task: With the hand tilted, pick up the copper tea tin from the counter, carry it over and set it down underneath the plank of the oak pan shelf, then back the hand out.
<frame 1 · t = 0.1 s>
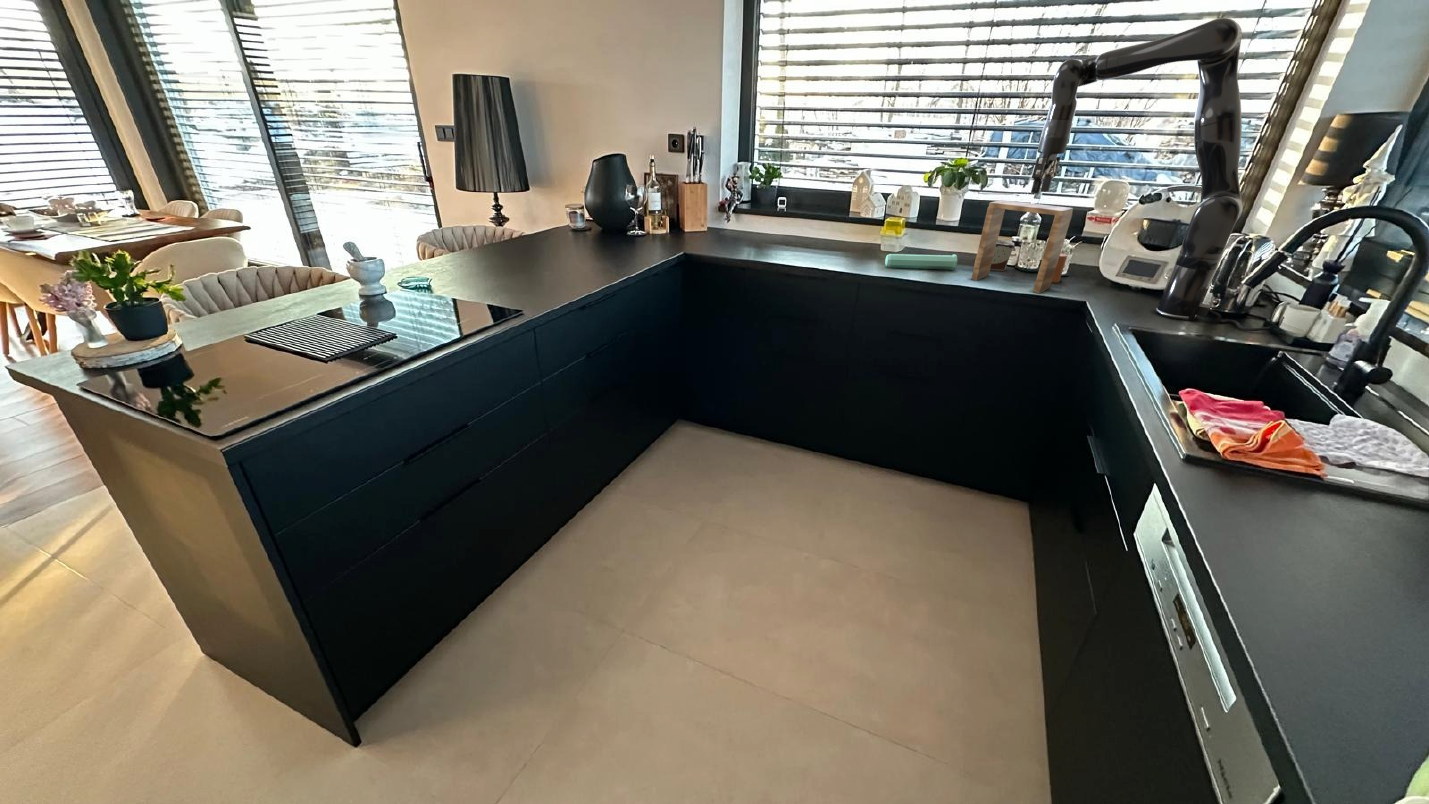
hand: (1039, 192, 177), 29 cm above the counter, tool pointing down, fingers open, 8 cm apart
tea tin: (1050, 280, 194), on the counter
container: (918, 268, 206), on the counter
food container: (988, 268, 209), on the counter
pan shelf: (1009, 283, 190), on the counter
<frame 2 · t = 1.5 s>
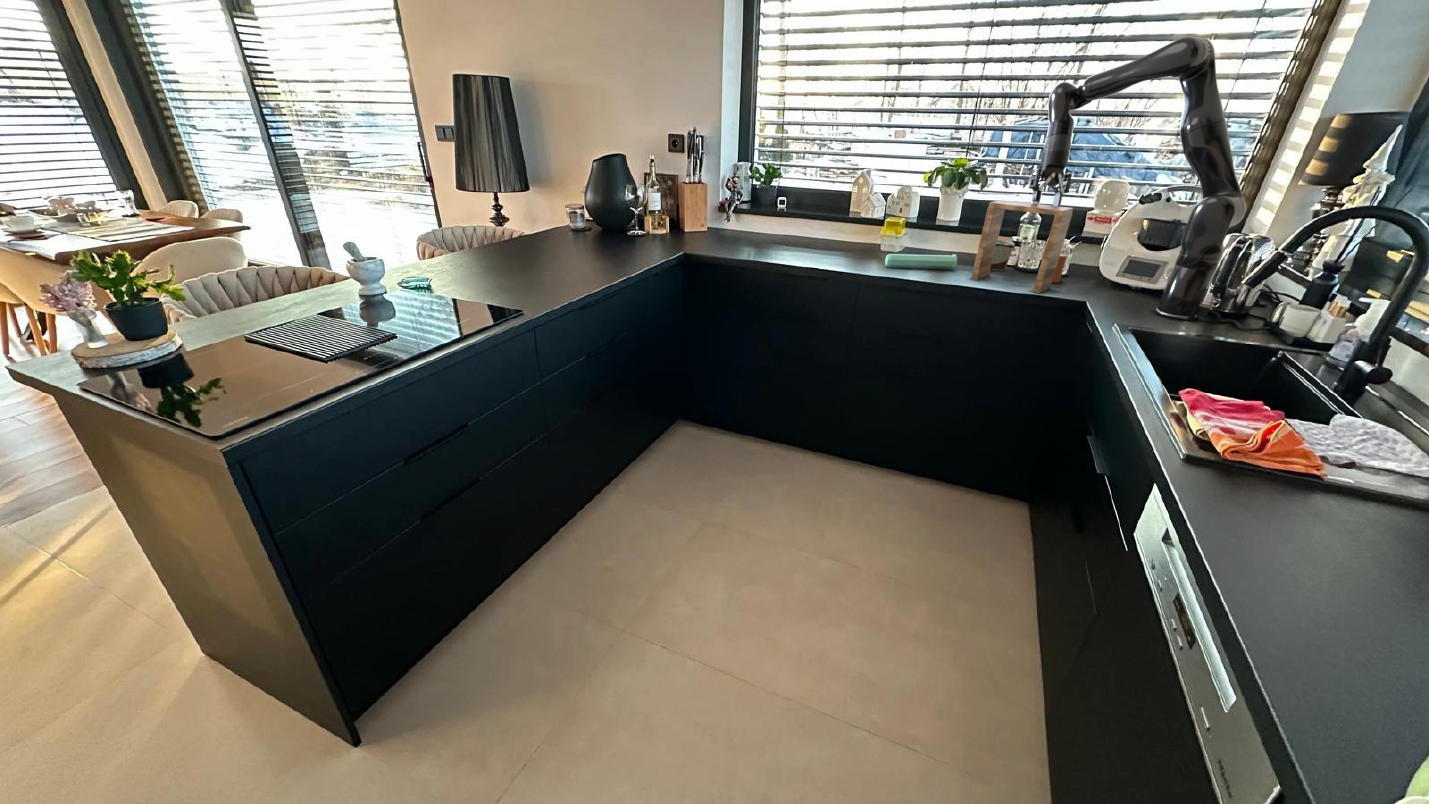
hand: (1045, 205, 182), 25 cm above the counter, tool tilted 15°, fingers open, 8 cm apart
nothing on the counter moved.
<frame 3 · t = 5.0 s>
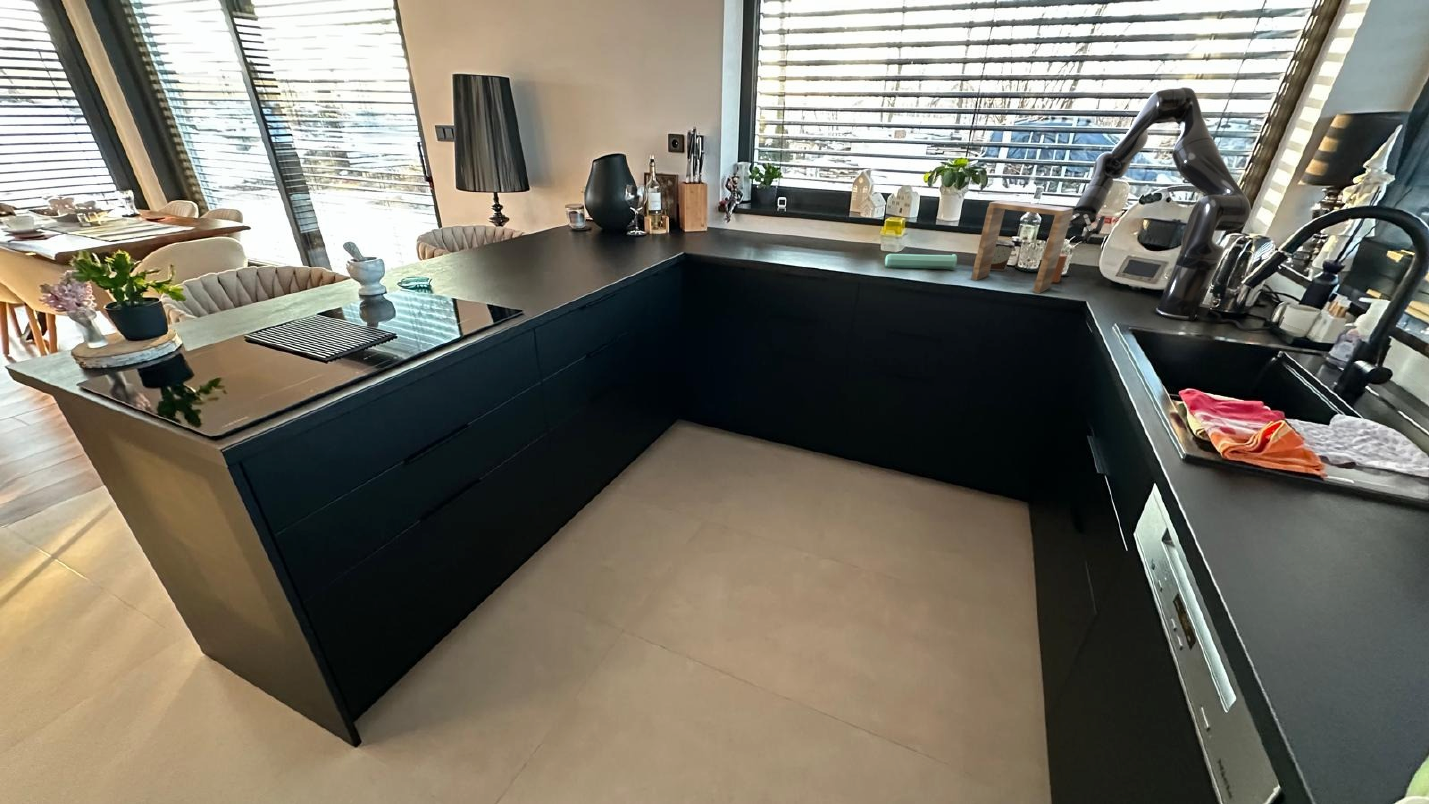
hand: (1069, 239, 193), 13 cm above the counter, tool tilted 45°, fingers open, 8 cm apart
nothing on the counter moved.
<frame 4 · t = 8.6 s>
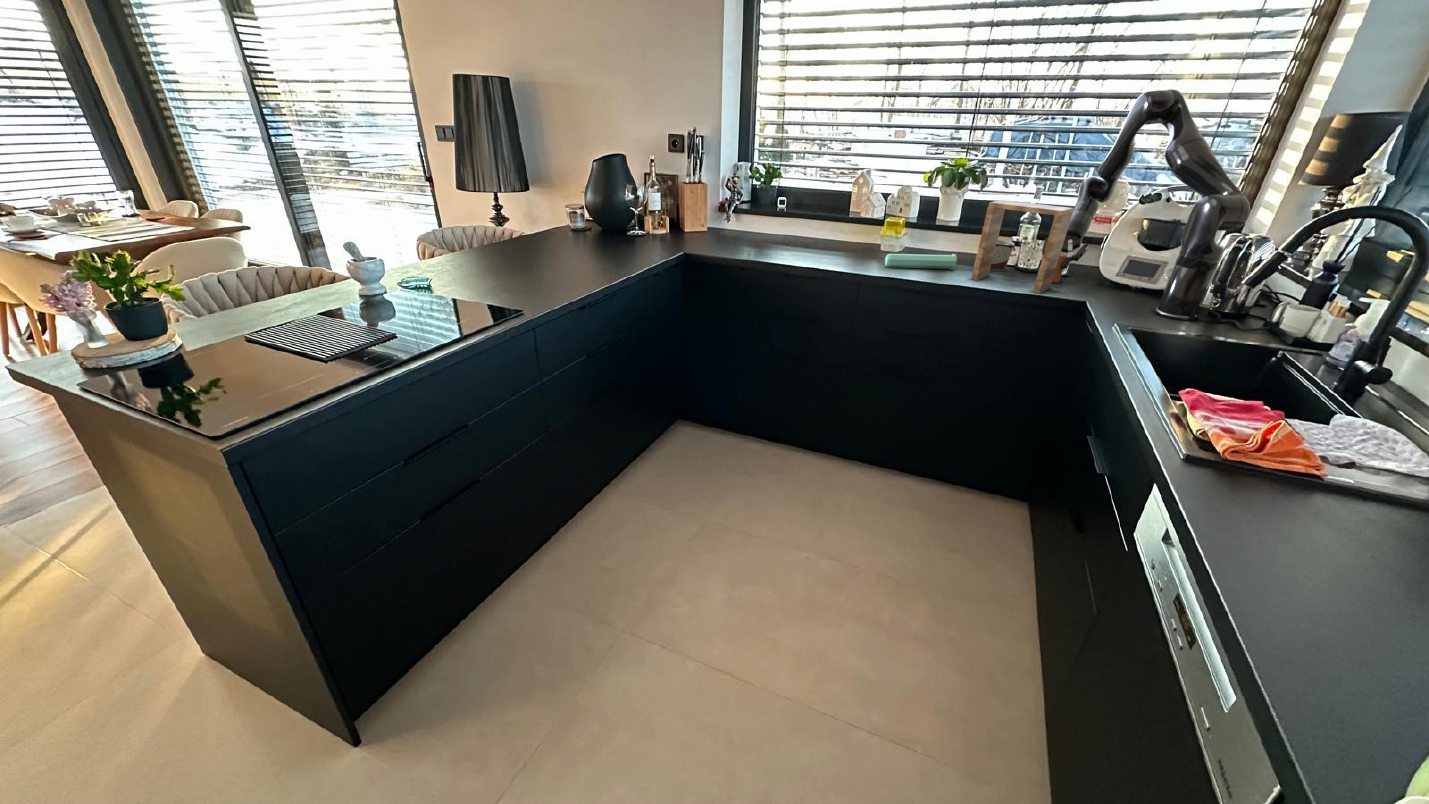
hand: (1053, 266, 191), 5 cm above the counter, tool tilted 45°, fingers closed on tea tin, 5 cm apart
tea tin: (1050, 280, 194), on the counter, touching gripper
everything else where it was.
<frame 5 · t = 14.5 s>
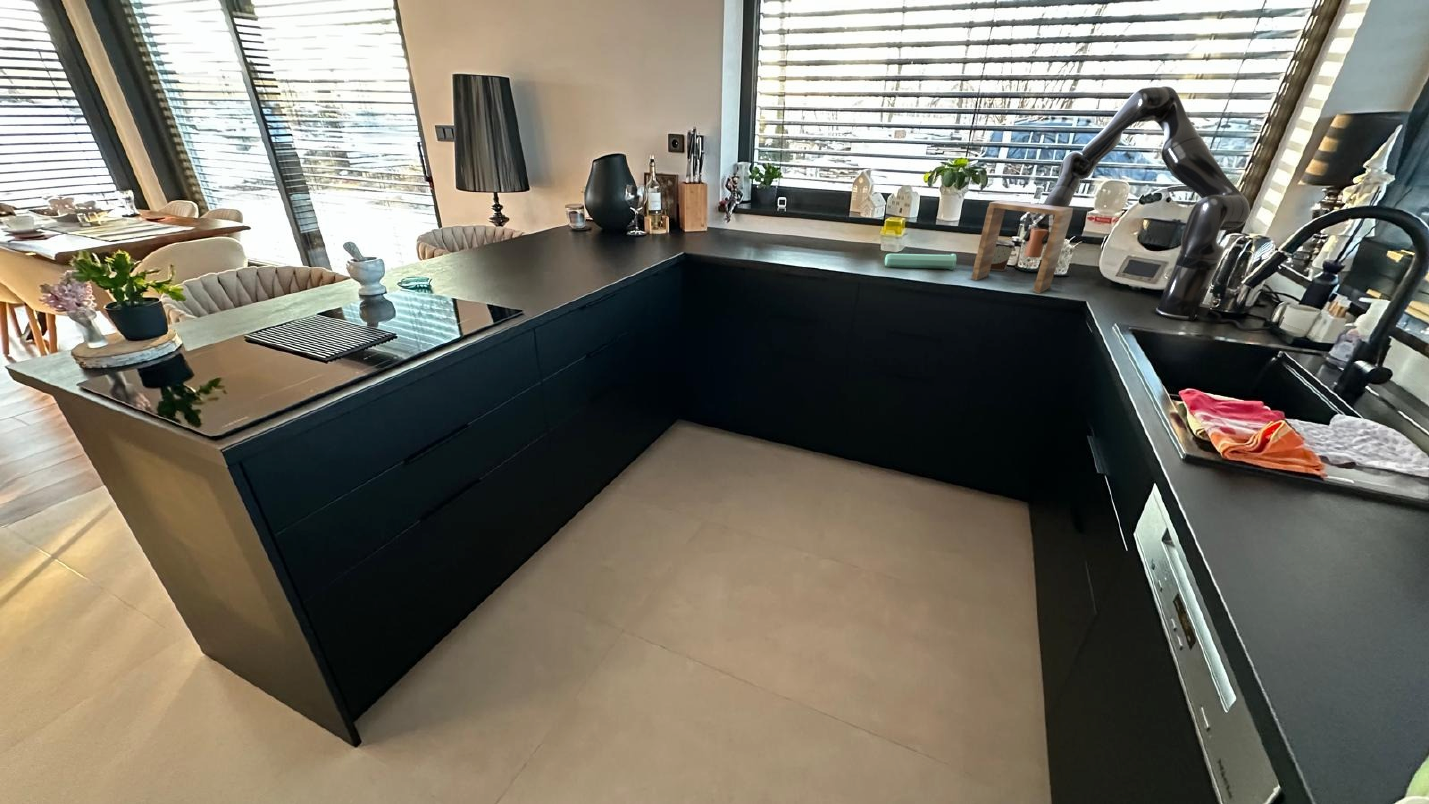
hand: (1034, 241, 193), 12 cm above the counter, tool tilted 45°, fingers closed on tea tin, 5 cm apart
tea tin: (1032, 255, 196), point 7 cm above the counter, touching gripper
everything else where it was.
when the fingers open (5 cm above the counter, at t = 20.4 s): tea tin stays where it is, on the counter.
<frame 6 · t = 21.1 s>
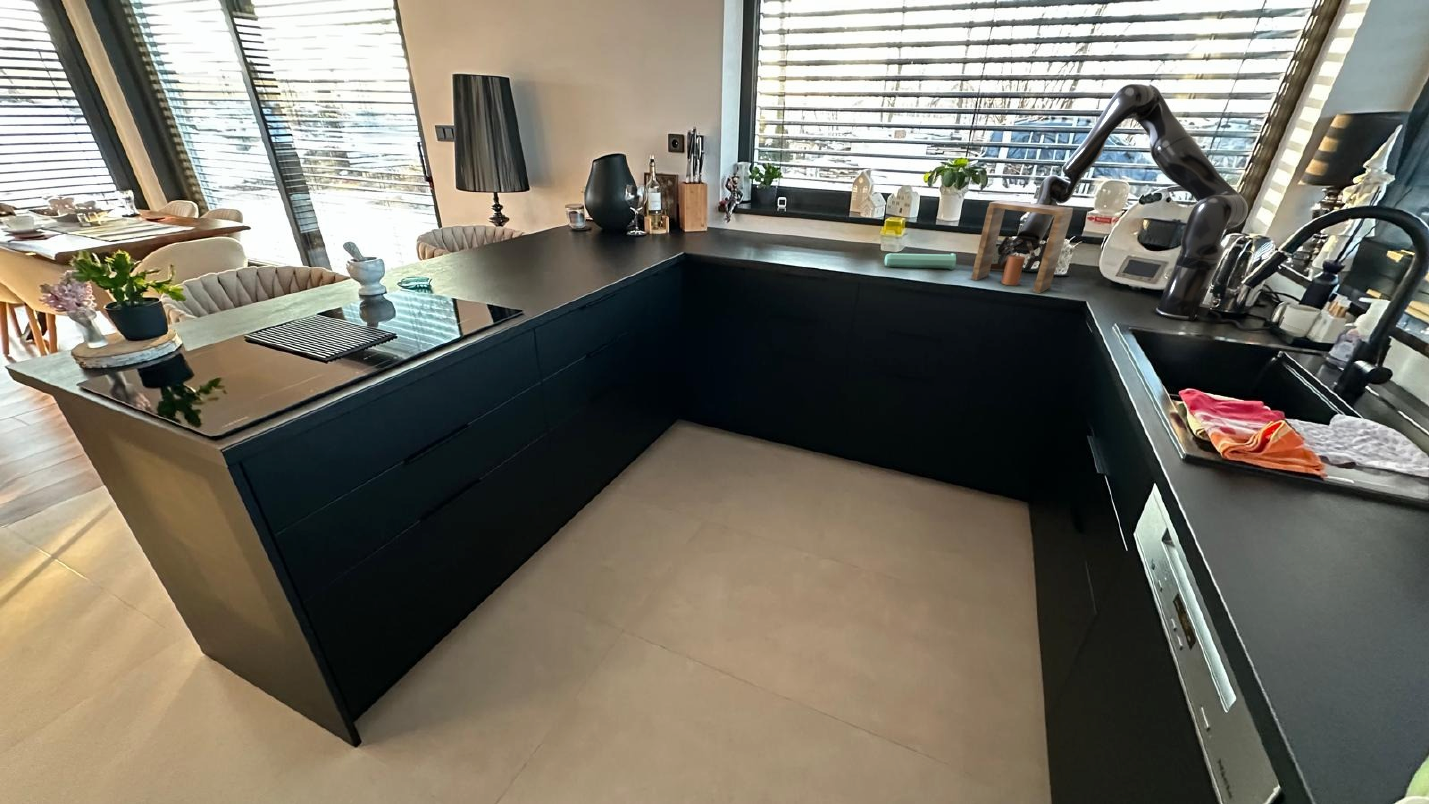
hand: (1012, 266, 186), 6 cm above the counter, tool tilted 45°, fingers open, 8 cm apart
tea tin: (1009, 283, 190), on the counter
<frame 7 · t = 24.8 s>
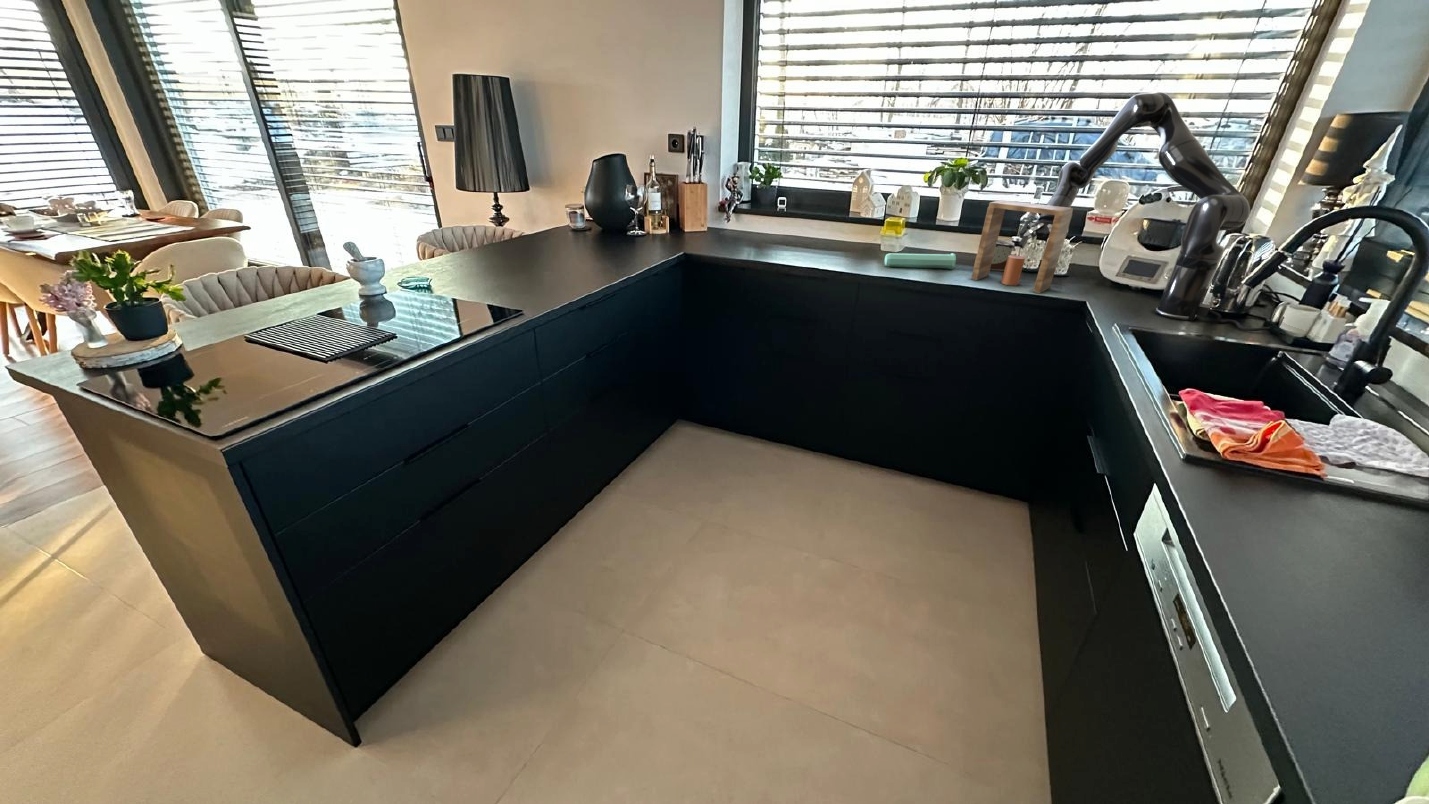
hand: (1034, 249, 194), 10 cm above the counter, tool tilted 45°, fingers open, 8 cm apart
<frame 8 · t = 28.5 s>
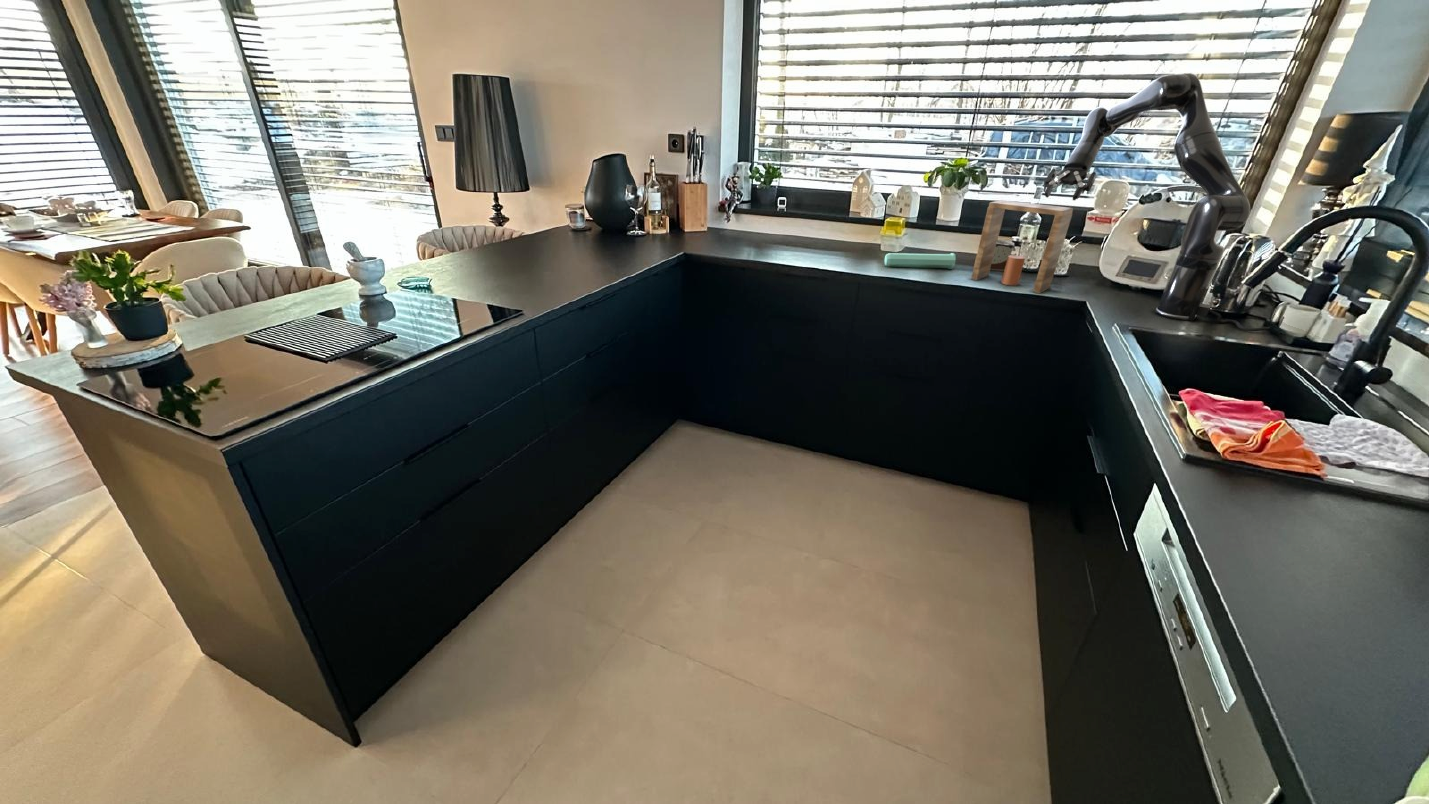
hand: (1060, 197, 189), 27 cm above the counter, tool tilted 45°, fingers open, 8 cm apart
at the end: tea tin inside the target area (0.1 cm from its centre), on the counter; tea tin tilted 0°; the gripper is holding nothing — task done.
